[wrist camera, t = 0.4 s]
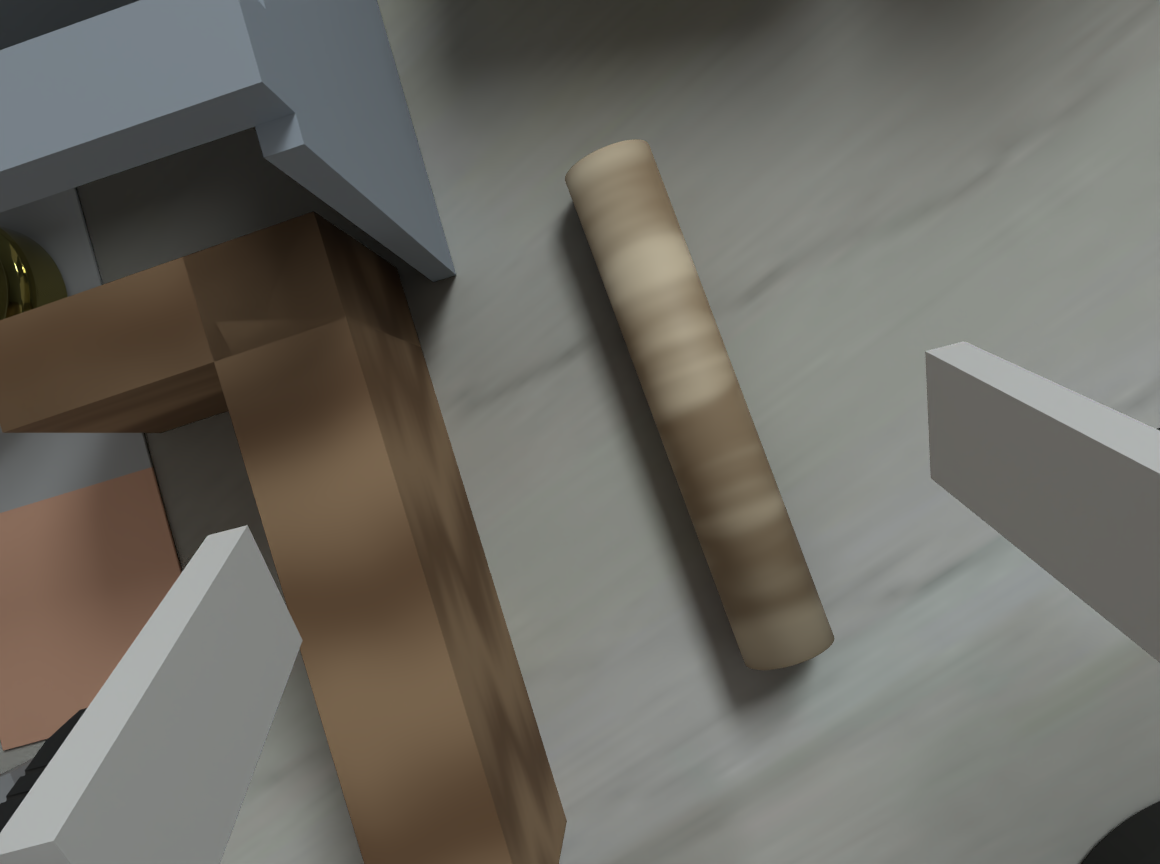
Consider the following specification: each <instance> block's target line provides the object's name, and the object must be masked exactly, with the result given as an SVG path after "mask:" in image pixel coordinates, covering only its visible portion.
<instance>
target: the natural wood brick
mask: <svg viewBox="0 0 1160 864" xmlns="http://www.w3.org/2000/svg"><path fill="white" fill-rule="evenodd" d="M226 411H229V414H230V417H231V420H232V424H233V427H234V430H235V434H236V437H237V440H238V444H239V447H240V450H241V454H242V457H243V460H244V464H245V467H246V470H247V474H248V477H249V480H250V484H251V487H252V490H253V494H254V497H255V500H256V504H257V507H258V511H259V514H260V517H261V521H262V524H263V527H264V531H265V534H266V537H267V541H268V544H269V547H270V551H271V554H272V557H273V561H274V564H275V567H276V571H277V574H278V577H279V581H280V584H281V587H282V591H283V594H284V597H285V601H286V604H287V607H288V611H289V613H290V615H291V617H292V619H293V621H294V623H295V625H296V628H297V630H298V632H299V634H300V636H301V638H302V640H303V641H302V643H301V646H300V651H301V654H302V657H303V661H304V664H305V667H306V671H307V674H308V677H309V681H310V684H311V687H312V691H313V694H314V697H315V701H316V704H317V707H318V711H319V714H320V717H321V721H322V724H323V728H324V731H325V734H326V738H327V741H328V744H329V748H330V751H331V754H332V758H333V761H334V764H335V768H336V771H337V774H338V778H339V781H340V784H341V788H342V791H343V794H344V798H345V801H346V804H347V808H348V811H349V814H350V818H351V821H352V824H353V828H354V831H355V834H356V838H357V841H358V844H359V848H360V851H361V854H362V858H363V861H364V864H559V859H560V854H561V848H562V843H563V838H564V832H565V827H566V822H567V821H566V817H565V814H564V811H563V808H562V804H561V801H560V798H559V795H558V791H557V788H556V785H555V782H554V778H553V775H552V772H551V769H550V765H549V762H548V759H547V756H546V752H545V749H544V746H543V743H542V739H541V736H540V733H539V729H538V726H537V723H536V720H535V716H534V713H533V710H532V707H531V703H530V700H529V697H528V694H527V690H526V687H525V684H524V681H523V677H522V674H521V671H520V668H519V664H518V661H517V658H516V655H515V651H514V648H513V645H512V642H511V638H510V635H509V632H508V629H507V625H506V622H505V619H504V616H503V612H502V609H501V606H500V603H499V599H498V596H497V593H496V590H495V586H494V583H493V580H492V576H491V573H490V570H489V567H488V563H487V560H486V557H485V554H484V550H483V547H482V544H481V541H480V537H479V534H478V531H477V528H476V524H475V521H474V518H473V515H472V511H471V508H470V505H469V502H468V498H467V495H466V492H465V489H464V485H463V482H462V479H461V476H460V472H459V469H458V466H457V463H456V459H455V456H454V453H453V450H452V446H451V443H450V440H449V437H448V433H447V430H446V427H445V424H444V420H443V417H442V414H441V410H440V407H439V404H438V401H437V397H436V394H435V391H434V388H433V384H432V381H431V378H430V375H429V371H428V368H427V365H426V362H425V358H424V355H423V352H422V349H421V345H420V342H419V339H418V336H417V332H416V329H415V326H414V323H413V319H412V316H411V313H410V310H409V306H408V303H407V300H406V297H405V293H404V290H403V287H402V284H401V280H400V277H399V274H398V271H397V268H396V267H395V266H393V265H392V264H390V263H389V262H387V261H386V260H384V259H383V258H381V257H380V256H378V255H377V254H375V253H374V252H373V251H371V250H370V249H368V248H367V247H365V246H364V245H362V244H361V243H359V242H358V241H356V240H355V239H353V238H352V237H350V236H349V235H348V234H346V233H345V232H343V231H342V230H340V229H339V228H337V227H336V226H334V225H333V224H331V223H330V222H328V221H327V220H325V219H324V218H323V217H321V216H320V215H318V214H317V213H315V212H314V211H313V212H310V213H307V214H304V215H302V216H299V217H296V218H293V219H290V220H287V221H284V222H282V223H279V224H276V225H273V226H270V227H267V228H264V229H261V230H259V231H256V232H253V233H250V234H247V235H244V236H241V237H238V238H236V239H233V240H230V241H227V242H224V243H221V244H218V245H215V246H213V247H210V248H207V249H204V250H201V251H198V252H195V253H192V254H190V255H187V256H184V257H181V258H178V259H175V260H172V261H170V262H167V263H164V264H161V265H158V266H155V267H152V268H149V269H147V270H144V271H141V272H138V273H135V274H132V275H129V276H126V277H124V278H121V279H118V280H115V281H112V282H109V283H106V284H103V285H101V286H98V287H95V288H92V289H89V290H86V291H83V292H80V293H78V294H75V295H72V296H69V297H66V298H63V299H60V300H57V301H55V302H52V303H49V304H46V305H43V306H40V307H37V308H35V309H32V310H29V311H26V312H23V313H20V314H17V315H14V316H12V317H9V318H6V319H3V320H0V426H1V429H2V433H162V432H165V431H168V430H171V429H174V428H177V427H180V426H183V425H186V424H189V423H192V422H195V421H199V420H202V419H205V418H208V417H211V416H214V415H217V414H220V413H223V412H226Z"/></svg>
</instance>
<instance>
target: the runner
mask: <svg viewBox="0 0 1160 864" xmlns="http://www.w3.org/2000/svg"><path fill="white" fill-rule="evenodd" d="M0 226H2V227H5V228H8V229H11V230H14V231H17V232H20V233H22V234H24V235H26V236H28V237H29V238H31V239H33V240H34V241H35V242H37V243H38V244H39V245H40V246H41V247H43V248H44V249H45V251H46V252H47V253H48V254H49V255H50V256H51V258H52V259H53V260H54V262H55V263H56V265H57V267H58V269H59V271H60V273H61V275H62V277H63V280H64V283H65V286H66V291H67V296H68V297H69V296H72V295H75V294H78V293H80V292H83V291H86V290H89V289H92V288H95V287H98V286H101V285H103V284H102V281H101V277H100V273H99V270H98V266H97V263H96V259H95V255H94V252H93V248H92V244H91V241H90V237H89V234H88V230H87V226H86V223H85V219H84V215H83V212H82V208H81V205H80V201H79V197H78V194H77V190H76V187H75V188H72V189H69V190H66V191H63V192H60V193H57V194H54V195H51V196H48V197H45V198H42V199H39V200H36V201H33V202H30V203H27V204H24V205H22V206H19V207H16V208H13V209H10V210H7V211H4V212H1V213H0ZM181 573H182V570H181V567H180V563H179V559H178V556H177V552H176V548H175V545H174V541H173V538H172V534H171V530H170V527H169V523H168V519H167V516H166V512H165V509H164V505H163V501H162V498H161V494H160V491H159V487H158V483H157V480H156V476H155V472H154V469H153V465H152V462H151V458H150V454H149V451H148V447H147V443H146V440H145V436H144V433H2V429H1V426H0V740H1V744H2V748H3V751H4V750H8V749H11V748H15V747H19V746H22V745H26V744H29V743H33V742H37V741H40V740H44V739H48V738H49V737H51V736H52V735H53V734H54V733H55V732H56V731H57V730H58V729H59V728H60V727H61V726H63V725H64V724H65V723H66V722H67V721H68V720H69V719H70V718H71V717H72V716H73V715H75V714H76V713H77V712H78V711H79V710H81V709H85V708H88V706H89V705H90V703H91V702H92V701H93V699H94V698H95V696H96V695H97V693H98V692H99V691H100V689H101V688H102V686H103V685H104V683H105V682H106V680H107V679H108V678H109V676H110V675H111V673H112V672H113V670H114V669H115V668H116V666H117V665H118V663H119V662H120V660H121V659H122V658H123V656H124V655H125V653H126V652H127V650H128V649H129V647H130V646H131V645H132V643H133V642H134V640H135V639H136V637H137V636H138V635H139V633H140V632H141V630H142V629H143V627H144V626H145V625H146V623H147V622H148V620H149V619H150V617H151V616H152V615H153V613H154V612H155V610H156V609H157V607H158V606H159V604H160V603H161V602H162V600H163V599H164V597H165V596H166V594H167V593H168V592H169V590H170V589H171V587H172V586H173V584H174V583H175V582H176V580H177V579H178V577H179V576H180V574H181Z"/></svg>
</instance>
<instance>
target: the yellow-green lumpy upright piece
mask: <svg viewBox="0 0 1160 864" xmlns="http://www.w3.org/2000/svg"><path fill="white" fill-rule="evenodd" d="M66 297H68V296H67V291H66V286H65V283H64V280H63V277H62V275H61V273H60V271H59V269H58V267H57V265H56V263H55V262H54V260H53V259H52V258H51V256H50V255H49V254H48V253H47V252H46V251H45V249H44V248H43V247H41V246H40V245H39V244H38V243H37V242H35V241H34V240H33V239H31V238H29V237H28V236H26V235H24V234H22V233H20V232H17V231H14V230H11V229H8V228H5V227H2V226H0V320H3V319H6V318H9V317H12V316H14V315H17V314H20V313H23V312H26V311H29V310H32V309H35V308H37V307H40V306H43V305H46V304H49V303H52V302H55V301H57V300H60V299H63V298H66Z"/></svg>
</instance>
